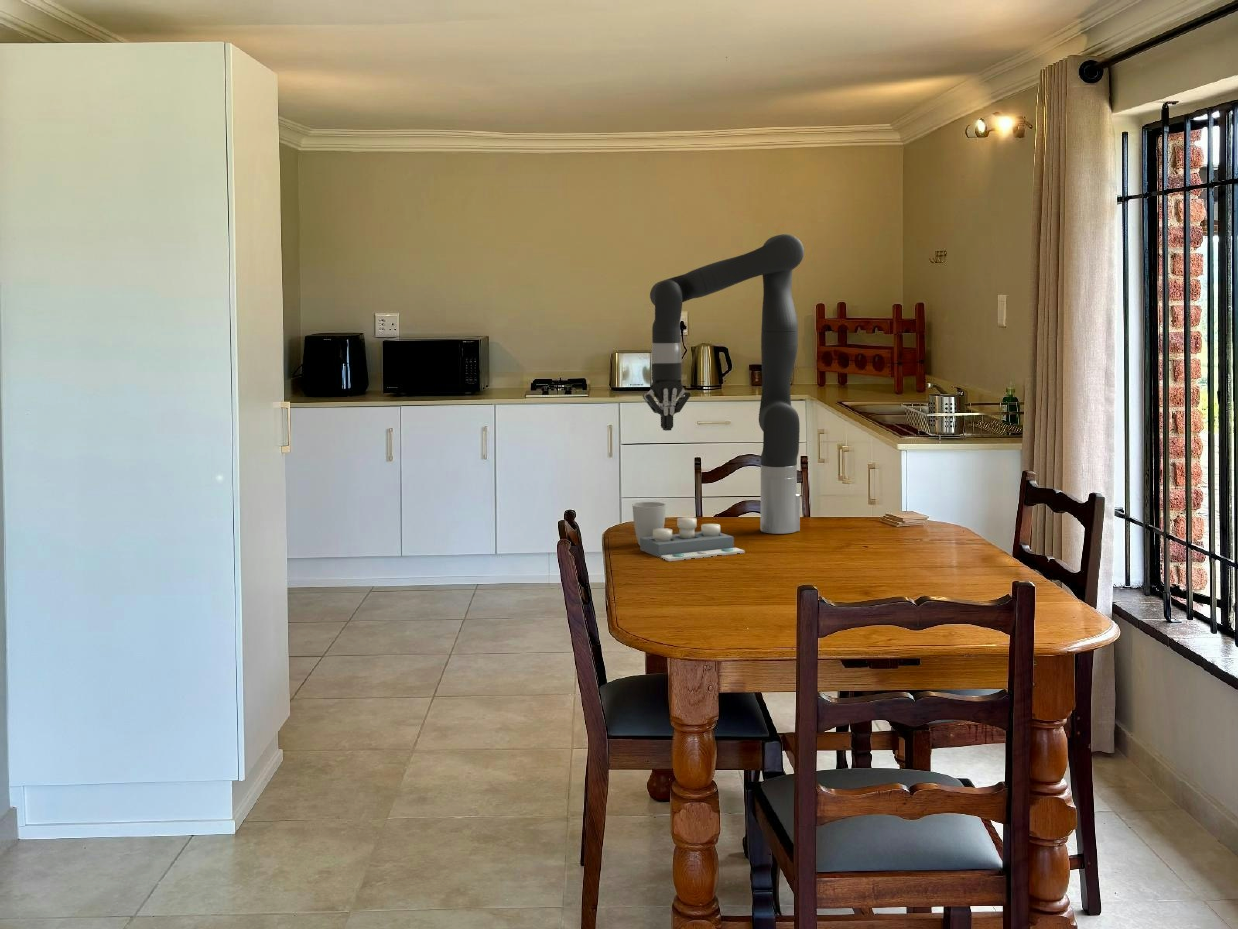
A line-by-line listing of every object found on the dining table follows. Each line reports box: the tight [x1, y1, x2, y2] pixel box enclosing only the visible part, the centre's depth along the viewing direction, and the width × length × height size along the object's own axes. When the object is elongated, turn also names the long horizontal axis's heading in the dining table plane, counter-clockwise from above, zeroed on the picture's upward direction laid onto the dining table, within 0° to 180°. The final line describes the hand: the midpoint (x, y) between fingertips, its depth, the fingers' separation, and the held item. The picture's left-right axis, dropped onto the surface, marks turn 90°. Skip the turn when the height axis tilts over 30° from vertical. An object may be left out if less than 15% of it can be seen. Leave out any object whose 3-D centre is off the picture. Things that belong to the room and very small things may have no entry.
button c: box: [653, 527, 673, 542], centre depth 279 cm, size 5×5×5 cm
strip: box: [660, 547, 746, 562], centre depth 274 cm, size 20×4×1 cm, turn 115°
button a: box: [700, 523, 721, 537], centre depth 284 cm, size 5×5×5 cm
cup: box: [632, 501, 667, 546], centre depth 288 cm, size 8×8×10 cm
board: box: [639, 531, 735, 558], centre depth 281 cm, size 20×10×3 cm, turn 115°
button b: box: [676, 516, 698, 539], centre depth 281 cm, size 5×5×5 cm
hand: (666, 430), depth 296 cm, fingers closed
